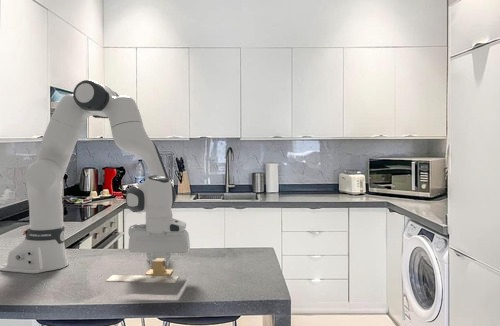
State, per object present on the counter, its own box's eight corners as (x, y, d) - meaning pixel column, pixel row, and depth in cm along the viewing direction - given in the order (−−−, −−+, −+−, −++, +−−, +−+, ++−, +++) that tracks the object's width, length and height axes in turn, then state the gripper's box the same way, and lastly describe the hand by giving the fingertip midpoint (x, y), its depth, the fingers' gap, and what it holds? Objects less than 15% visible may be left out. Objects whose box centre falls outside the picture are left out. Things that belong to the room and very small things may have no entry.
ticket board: (102, 285, 146) (102, 280, 146) (116, 273, 159) (116, 269, 159) (177, 287, 145) (177, 282, 145) (185, 275, 158) (185, 270, 158)
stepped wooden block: (145, 275, 152) (145, 262, 152) (149, 270, 158) (149, 257, 158) (169, 276, 152) (169, 262, 152) (173, 271, 158) (173, 258, 157)
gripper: (125, 226, 152) (125, 267, 152) (187, 226, 150) (187, 268, 151) (131, 222, 158) (131, 262, 159) (190, 223, 157) (191, 263, 157)
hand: (159, 265), depth 155 cm, fingers closed on stepped wooden block, 3 cm apart
